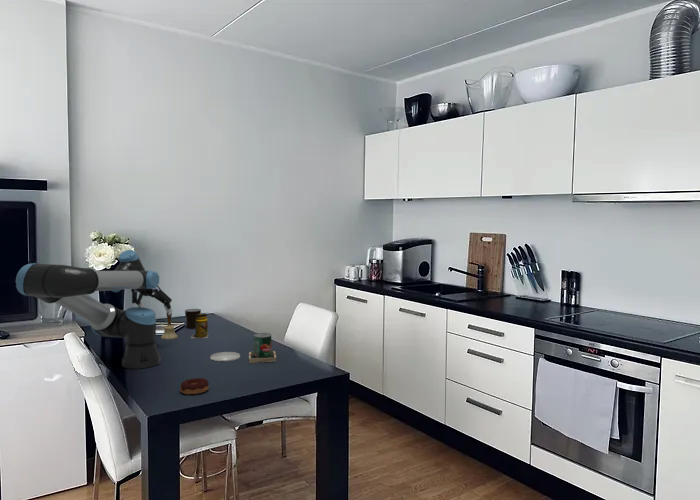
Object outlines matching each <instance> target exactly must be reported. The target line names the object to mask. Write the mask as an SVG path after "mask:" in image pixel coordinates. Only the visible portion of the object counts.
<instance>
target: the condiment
mask: <svg viewBox="0 0 700 500" xmlns="http://www.w3.org/2000/svg"><path fill="white" fill-rule="evenodd" d="M208 321H209V320H208V314H207V313H203V312H202V313H199V314H197V315H196V322H195V324H196V326H195V327H196V329H195V330H194V331H195V334H192V335H190V336H191V337H190V339H208V338H209V333H208V327H209V326H208Z"/></svg>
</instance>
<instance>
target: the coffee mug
mask: <svg viewBox="0 0 700 500" xmlns="http://www.w3.org/2000/svg"><path fill="white" fill-rule="evenodd" d="M201 312H202V309H201V308H200V309H199V308H187V309H185V310H184V314H185V316H184V317H185V321H186V328H187V329H189V330H194V329H196V327H195V326H196V324H195V322H196V315H197V314H199V313H201Z"/></svg>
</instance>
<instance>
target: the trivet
mask: <svg viewBox="0 0 700 500" xmlns="http://www.w3.org/2000/svg"><path fill="white" fill-rule="evenodd" d="M209 358H210V360H212V361H213V360H214V362H221V361H223V362H232V361H236V360H238V359H240V358H241V354H240V353H239V352H236V351H222V352H221V351H220V352H215V353H212V354H211V355H210V356H209Z"/></svg>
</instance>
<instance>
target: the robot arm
mask: <svg viewBox="0 0 700 500" xmlns="http://www.w3.org/2000/svg"><path fill="white" fill-rule="evenodd" d="M118 262H119V264H117V266H116V268H114V270H95V269H93V268H90V267H88V268H87V267H79V266H71V265H67V264H53V263H52V264H51V263H47V264H46V263H39V262H34V263H28V264H25V265H23V266H22V267H21V268H20V269H19V270H18V272H17V274H16V277H15V284H16V285H15V287H16V289H17V292H18V293H20V294H21V295H23V296H26V297H35V298H36V299H39V300H40V301H41V302H42V301H43V302H44V303H46V304H57V305H59V306H61V307H62V308H64V309H65V310H68V312H71V313H73V314H75V315H77V316H78V317H80V318H82V319H84V320H85V321H87V322H89V326H90V327H91V328H90V329H91V330H92V332H93V333H94V334H95V335H96V336H97V335H98V336H100V337H103V338H109V337H110V338H119V339H120V338H121V339H125V349H124V350H125V351H124V352H123V355H122V359H121V366H122V367H123V368H126V369H132V370H133V369H135V370H137V369H145V368H146V369H147V368H152V367H154V366H158V365H159V364H161V355H160V352H159V349H158V346H157V319H156V312H155V311H154V310H153V309H152V308H148V307H146V304H145V303H144V301H143V300H142V299H143V297H150V298H154V299H155V300H157V301H159V302H160V303H162V304H163V307H164V309H165V311H166V314H167V313H168V315H170V314H171V313H172V314H173V310H172V306H171V303H172V300H173V299H172V298H171V297H170V296H168V294H167V293H165V291H163V290H162V289H161V288H160V286H159V284H160V275H159V273H158V272H156V271H153V270H146V269H145V267H144V265H143V263H142V261H141V258H140V257H139V255H138V254H137V252H136V251H135V250H133V249H127V250H125V251H122V252H121V253H120V254H119V255H118ZM121 290H130V291H131V303H132V304H135V305H137V306H135V307H134V306H133V307H128V308H127V309H125V310H124V309H119V308H117V307H115V306H114V305H112V304H110V303H102V302H101V301H98V300H97V299H96V298H94V297H92V296H91V295H92V294H94V293H95V292H103V291H105V292H106V291H111V292H113V293H118V292H120V291H121ZM138 293H139V294H138Z"/></svg>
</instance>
